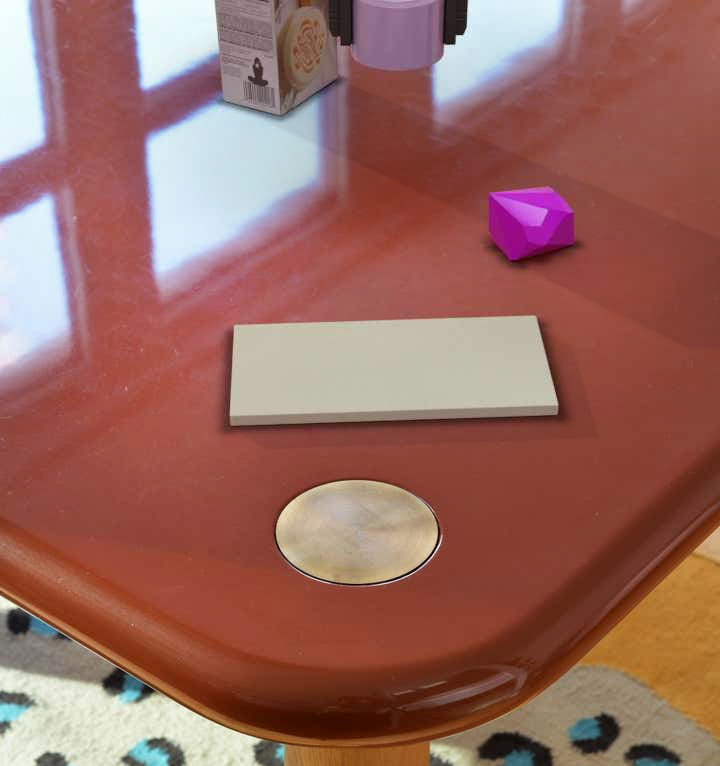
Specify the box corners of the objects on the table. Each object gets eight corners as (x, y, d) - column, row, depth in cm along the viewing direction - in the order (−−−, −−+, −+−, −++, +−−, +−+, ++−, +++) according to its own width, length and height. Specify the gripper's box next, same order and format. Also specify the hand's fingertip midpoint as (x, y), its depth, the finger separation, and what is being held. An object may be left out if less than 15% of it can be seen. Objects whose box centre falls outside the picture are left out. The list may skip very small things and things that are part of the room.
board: (535, 325, 91) (536, 315, 90) (557, 415, 83) (558, 404, 83) (234, 334, 90) (234, 324, 90) (230, 426, 83) (229, 415, 82)
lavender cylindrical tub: (440, 33, 90) (443, -30, 87) (446, 70, 85) (449, 5, 83) (350, 34, 90) (349, -29, 87) (351, 72, 85) (350, 6, 83)
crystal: (537, 274, 95) (542, 215, 92) (476, 249, 98) (479, 190, 95) (579, 246, 98) (585, 187, 95) (519, 222, 101) (523, 164, 98)
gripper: (270, -239, 73) (283, 66, 84) (537, -243, 73) (516, 63, 84) (274, -271, 78) (286, 20, 90) (522, -274, 79) (504, 17, 90)
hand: (397, 40), depth 87 cm, fingers closed on lavender cylindrical tub, 6 cm apart
